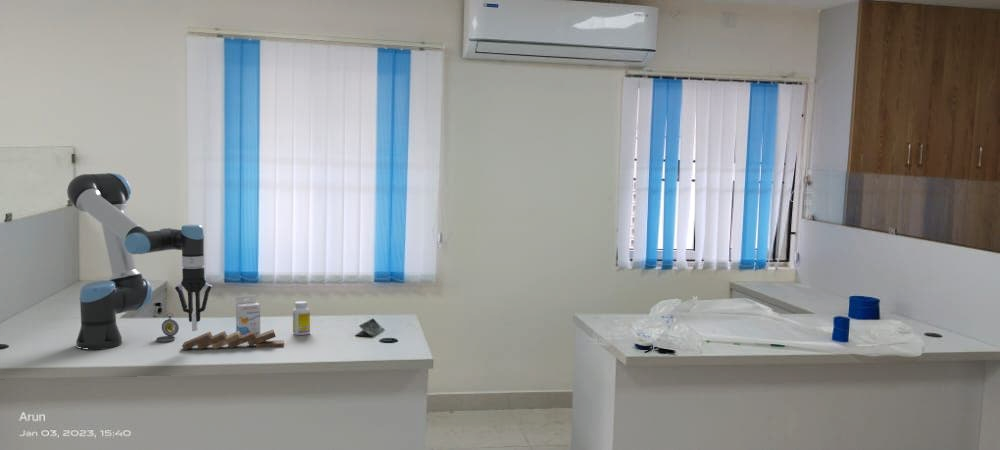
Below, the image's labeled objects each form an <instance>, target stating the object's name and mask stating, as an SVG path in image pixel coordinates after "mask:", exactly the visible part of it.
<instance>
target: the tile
mask: <svg viewBox="0 0 1000 450" xmlns="http://www.w3.org/2000/svg"><path fill="white" fill-rule="evenodd" d="M241 335H242V334H241V333H240V331H237V332H236V331H234V332H232V333H231V334H228V335H227V337H226V339H224V340H222V341H219V342H217V343H215V344H212V345H211V346H212V348H213V350H217V349H219V348H221V347H224V346H226V345H228V344H229V343H231V342H233V341H236V340H238V339H240V338H241Z"/></svg>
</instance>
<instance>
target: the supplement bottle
mask: <svg viewBox="0 0 1000 450" xmlns="http://www.w3.org/2000/svg"><path fill="white" fill-rule="evenodd" d="M307 306H308V301H303V300H301V301H295V302H294V308H293V309H292V333H293V335H296V336H306V335H309V334H310V333H311V315H310V314H311V310H310V308H308V307H307Z"/></svg>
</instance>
